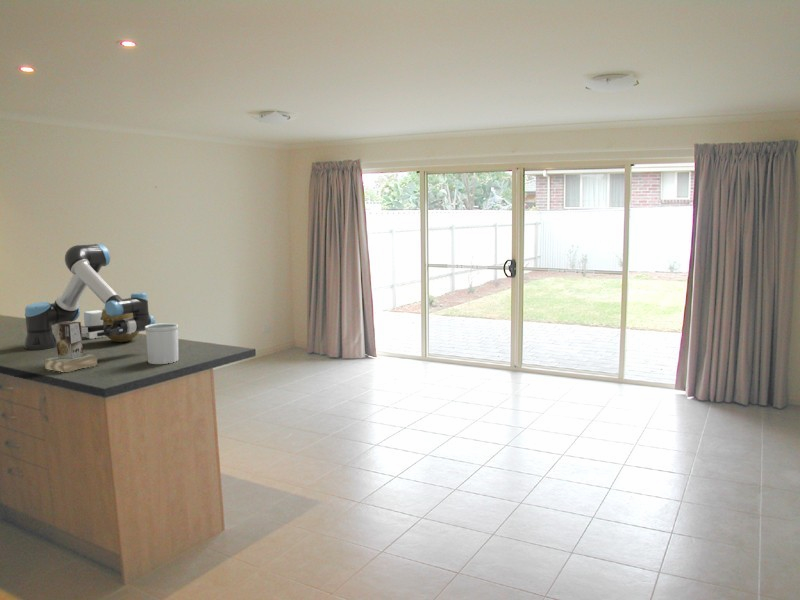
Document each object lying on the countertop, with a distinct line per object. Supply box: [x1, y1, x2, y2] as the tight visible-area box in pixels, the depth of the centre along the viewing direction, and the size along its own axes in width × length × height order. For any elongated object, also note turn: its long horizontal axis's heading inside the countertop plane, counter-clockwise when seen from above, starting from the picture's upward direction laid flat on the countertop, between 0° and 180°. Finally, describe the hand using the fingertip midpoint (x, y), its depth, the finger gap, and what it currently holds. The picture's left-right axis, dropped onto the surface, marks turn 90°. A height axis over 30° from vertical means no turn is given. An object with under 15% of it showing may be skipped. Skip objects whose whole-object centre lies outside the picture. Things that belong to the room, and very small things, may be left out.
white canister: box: [83, 309, 108, 340], centre depth 349 cm, size 9×9×15 cm
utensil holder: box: [145, 322, 179, 365], centre depth 293 cm, size 15×15×18 cm
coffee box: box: [54, 321, 84, 359], centre depth 280 cm, size 9×6×16 cm
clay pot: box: [100, 307, 140, 343], centre depth 337 cm, size 21×21×20 cm
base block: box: [44, 352, 98, 372], centre depth 281 cm, size 14×16×5 cm
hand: (81, 334), depth 284 cm, fingers open, 13 cm apart
